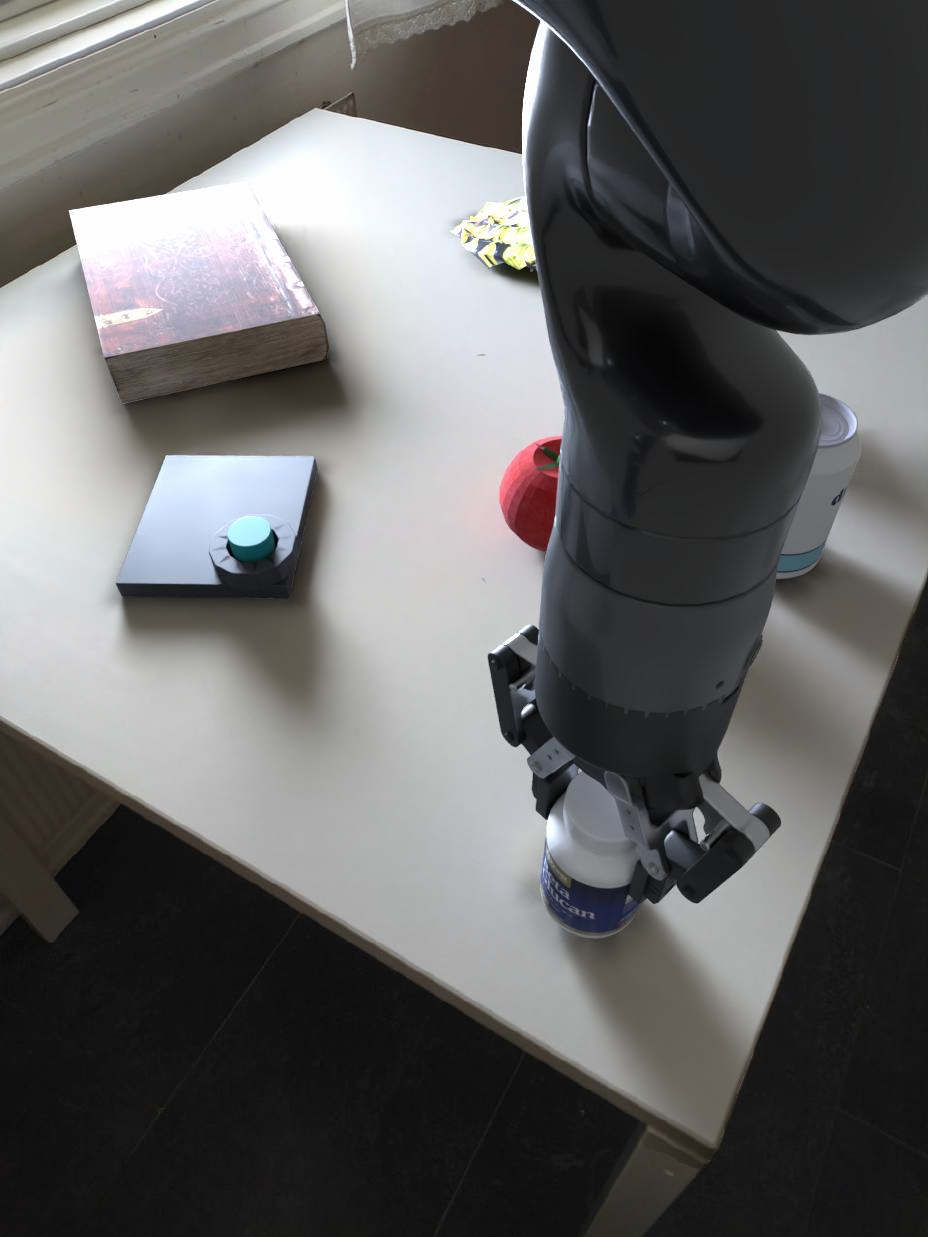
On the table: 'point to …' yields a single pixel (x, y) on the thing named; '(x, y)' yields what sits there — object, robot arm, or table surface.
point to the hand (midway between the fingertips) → (600, 844)
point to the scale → (219, 527)
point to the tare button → (251, 539)
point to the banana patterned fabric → (500, 235)
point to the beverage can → (822, 489)
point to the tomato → (532, 492)
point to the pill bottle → (588, 862)
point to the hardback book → (193, 291)
